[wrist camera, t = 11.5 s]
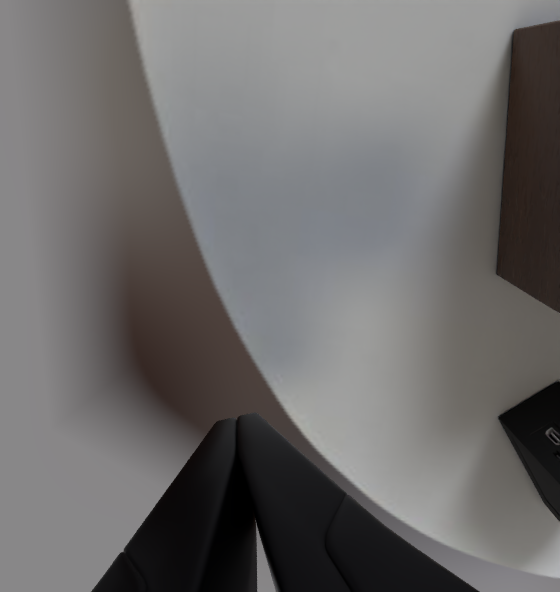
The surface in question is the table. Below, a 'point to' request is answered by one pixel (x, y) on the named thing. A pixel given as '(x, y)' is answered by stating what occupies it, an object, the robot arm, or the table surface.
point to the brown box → (533, 167)
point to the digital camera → (539, 442)
